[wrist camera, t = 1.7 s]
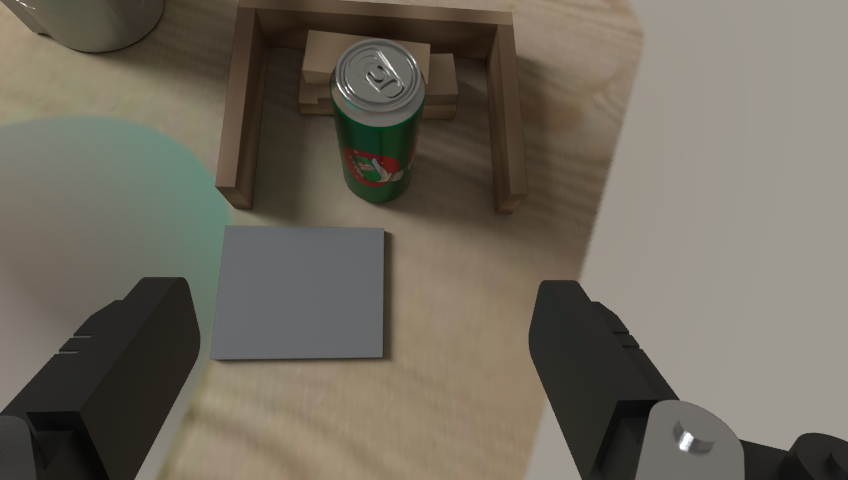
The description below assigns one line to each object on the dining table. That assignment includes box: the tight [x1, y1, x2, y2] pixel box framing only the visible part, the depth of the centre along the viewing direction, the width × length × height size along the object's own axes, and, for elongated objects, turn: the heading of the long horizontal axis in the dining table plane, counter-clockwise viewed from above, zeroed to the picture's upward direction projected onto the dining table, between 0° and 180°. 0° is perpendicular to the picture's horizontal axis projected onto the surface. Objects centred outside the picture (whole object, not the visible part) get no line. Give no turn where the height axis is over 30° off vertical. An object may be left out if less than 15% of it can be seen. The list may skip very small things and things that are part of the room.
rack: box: [215, 0, 528, 214], centre depth 33 cm, size 20×15×4 cm
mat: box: [210, 226, 384, 360], centre depth 30 cm, size 11×9×1 cm
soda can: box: [329, 38, 426, 202], centre depth 28 cm, size 5×5×12 cm
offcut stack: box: [298, 30, 458, 120], centre depth 33 cm, size 12×5×4 cm, turn 91°
